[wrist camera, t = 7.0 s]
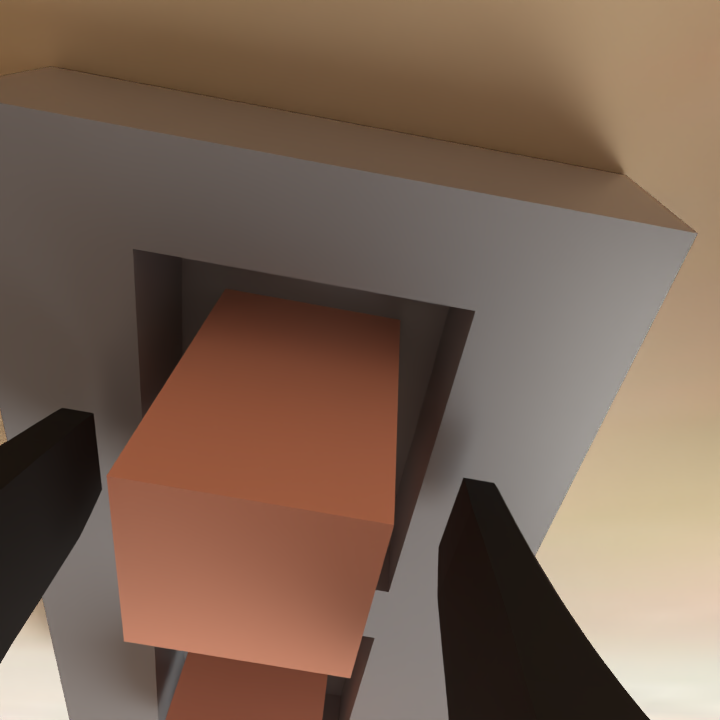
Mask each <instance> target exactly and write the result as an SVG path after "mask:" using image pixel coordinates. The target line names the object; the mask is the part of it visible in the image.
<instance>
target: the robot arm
mask: <svg viewBox="0 0 720 720" xmlns="http://www.w3.org/2000/svg"><path fill="white" fill-rule="evenodd" d="M101 491H102V483H101V474H100V465H99V456H98V447H97V438H96V429H95V420H94V413H90V412H84V411H79V410H73V409H67V408H61V409H59V410H57V411H55V412H54V413H52V414H50V415H49V416H47V417H45V418H44V419H42V420H41V421H39V422H37V423H36V424H34V425H32V426H31V427H29V428H28V429H26V430H24V431H23V432H21V433H20V434H18V435H16V436H15V437H13V438H12V439H10V440H8V441H7V442H5V443H4V444H2V445H0V663H1V661H2V660H3V658H4V656H5V655H6V653H7V651H8V650H9V648H10V646H11V644H12V643H13V641H14V640H15V638H16V637H17V635H18V634H19V632H20V630H21V629H22V627H23V626H24V624H25V623H26V621H27V620H28V618H29V616H30V615H31V613H32V612H33V610H34V609H35V607H36V605H37V604H38V602H39V601H40V599H41V598H42V596H43V595H44V593H45V591H46V590H47V588H48V587H49V585H50V584H51V582H52V581H53V579H54V577H55V576H56V574H57V573H58V571H59V570H60V568H61V566H62V565H63V563H64V562H65V560H66V558H67V557H68V555H69V554H70V552H71V551H72V549H73V547H74V546H75V544H76V542H77V541H78V539H79V538H80V536H81V534H82V532H83V529H84V527H85V525H86V523H87V521H88V519H89V517H90V515H91V513H92V511H93V509H94V506H95V504H96V502H97V500H98V498H99V495H100V493H101ZM437 599H438V611H439V622H440V633H441V644H442V654H443V665H444V675H445V686H446V696H447V707H448V718H449V720H650V719H649V718H648V717H647V716H646V715H645V713H644V712H643V711H642V710H641V709H640V707H639V706H638V705H637V704H636V702H635V701H634V700H633V699H632V697H631V696H630V695H629V694H628V693H627V691H626V690H625V689H624V688H623V686H622V685H621V684H620V682H619V681H618V680H617V678H616V677H615V676H614V674H613V673H612V672H611V671H610V669H609V668H608V667H607V665H606V664H605V663H604V661H603V660H602V659H601V657H600V656H599V654H598V653H597V652H596V650H595V649H594V648H593V646H592V645H591V643H590V642H589V640H588V639H587V638H586V636H585V635H584V633H583V632H582V630H581V629H580V627H579V626H578V624H577V623H576V621H575V620H574V618H573V617H572V615H571V614H570V612H569V611H568V609H567V608H566V606H565V605H564V603H563V602H562V600H561V599H560V597H559V595H558V594H557V592H556V591H555V589H554V587H553V586H552V584H551V582H550V581H549V579H548V577H547V576H546V574H545V572H544V571H543V569H542V567H541V566H540V564H539V562H538V561H537V559H536V557H535V556H534V554H533V552H532V550H531V549H530V547H529V545H528V543H527V542H526V540H525V538H524V536H523V534H522V533H521V531H520V529H519V527H518V525H517V523H516V522H515V520H514V518H513V516H512V514H511V512H510V510H509V508H508V507H507V505H506V503H505V501H504V499H503V497H502V495H501V493H500V491H499V489H498V488H497V486H496V485H495V483H492V482H486V481H481V480H475V479H469V478H463V480H462V483H461V486H460V488H459V491H458V494H457V497H456V500H455V502H454V505H453V508H452V511H451V513H450V516H449V519H448V522H447V525H446V527H445V530H444V533H443V536H442V538H441V541H440V544H439V547H438V588H437Z"/></svg>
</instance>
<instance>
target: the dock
mask: <svg viewBox="0 0 720 720" xmlns="http://www.w3.org/2000/svg"><path fill="white" fill-rule="evenodd" d="M697 234H698V233H697V232H695V231H694V230H693V229H692V228H690V227H689V226H688V225H687V224H686V223H684V222H683V221H682V220H681V219H679V218H678V217H677V216H676V215H674V214H673V213H672V212H671V211H670V210H668V209H667V208H666V207H665V206H663V205H662V204H661V203H660V202H659V201H657V200H656V199H655V198H654V197H652V196H651V195H650V194H649V193H648V192H646V191H645V190H644V189H643V188H641V187H640V186H639V185H638V184H637V183H635V182H634V181H633V180H632V179H630V178H629V177H628V176H627V175H622V174H617V173H612V172H607V171H601V170H596V169H591V168H585V167H580V166H575V165H569V164H564V163H559V162H554V161H548V160H543V159H538V158H532V157H527V156H522V155H517V154H511V153H506V152H501V151H495V150H490V149H485V148H480V147H474V146H469V145H464V144H458V143H453V142H448V141H443V140H437V139H432V138H427V137H421V136H416V135H411V134H405V133H400V132H395V131H390V130H384V129H379V128H374V127H368V126H363V125H358V124H353V123H347V122H342V121H337V120H331V119H326V118H321V117H316V116H310V115H305V114H300V113H294V112H289V111H284V110H279V109H273V108H268V107H263V106H257V105H252V104H247V103H242V102H236V101H231V100H226V99H220V98H215V97H210V96H204V95H199V94H194V93H189V92H183V91H178V90H173V89H167V88H162V87H157V86H152V85H146V84H141V83H136V82H130V81H125V80H120V79H115V78H109V77H104V76H99V75H93V74H88V73H83V72H78V71H72V70H67V69H62V68H56V67H46V68H40V69H35V70H30V71H25V72H19V73H14V74H9V75H3V76H0V410H1V415H2V419H3V424H4V428H5V433H6V437H7V441H8V440H10V439H12V438H13V437H15V436H16V435H18V434H20V433H21V432H23V431H24V430H26V429H28V428H29V427H31V426H32V425H34V424H36V423H37V422H39V421H41V420H42V419H44V418H45V417H47V416H49V415H50V414H52V413H54V412H55V411H57V410H59V409H61V408H67V409H73V410H79V411H84V412H90V413H94V420H95V429H96V438H97V447H98V456H99V465H100V474H101V483H102V491H101V493H100V495H99V498H98V500H97V502H96V504H95V506H94V509H93V511H92V513H91V515H90V517H89V519H88V521H87V523H86V525H85V527H84V529H83V532H82V534H81V536H80V538H79V539H78V541H77V542H76V544H75V546H74V547H73V549H72V551H71V552H70V554H69V555H68V557H67V558H66V560H65V562H64V563H63V565H62V566H61V568H60V570H59V571H58V573H57V574H56V576H55V577H54V579H53V581H52V582H51V584H50V585H49V587H48V588H47V590H46V591H45V593H44V595H43V596H42V599H43V603H44V608H45V612H46V617H47V621H48V625H49V630H50V634H51V639H52V643H53V648H54V652H55V657H56V661H57V666H58V670H59V675H60V679H61V684H62V688H63V693H64V697H65V702H66V706H67V711H68V715H69V720H449V718H448V707H447V696H446V686H445V675H444V665H443V654H442V644H441V633H440V622H439V611H438V599H437V588H438V547H439V544H440V541H441V538H442V536H443V533H444V530H445V527H446V525H447V522H448V519H449V516H450V513H451V511H452V508H453V505H454V502H455V500H456V497H457V494H458V491H459V488H460V486H461V483H462V480H463V478H469V479H475V480H481V481H486V482H492V483H495V485H496V486H497V488H498V489H499V491H500V493H501V495H502V497H503V499H504V501H505V503H506V505H507V507H508V508H509V510H510V512H511V514H512V516H513V518H514V520H515V522H516V523H517V525H518V527H519V529H520V531H521V533H522V534H523V536H524V538H525V540H526V542H527V543H528V545H529V547H530V549H531V550H532V552H533V554H534V556H535V555H536V553H537V551H538V549H539V547H540V545H541V543H542V541H543V539H544V537H545V535H546V533H547V531H548V529H549V527H550V525H551V523H552V521H553V519H554V517H555V515H556V513H557V511H558V509H559V507H560V506H561V504H562V502H563V500H564V498H565V496H566V494H567V492H568V490H569V488H570V486H571V484H572V482H573V480H574V478H575V476H576V474H577V472H578V470H579V468H580V466H581V464H582V462H583V460H584V458H585V456H586V454H587V452H588V450H589V448H590V446H591V444H592V442H593V440H594V438H595V436H596V434H597V432H598V430H599V428H600V426H601V424H602V422H603V420H604V418H605V416H606V414H607V412H608V410H609V408H610V406H611V404H612V402H613V400H614V398H615V396H616V394H617V392H618V390H619V388H620V386H621V385H622V383H623V381H624V379H625V377H626V375H627V373H628V371H629V369H630V367H631V365H632V363H633V361H634V359H635V357H636V355H637V353H638V351H639V349H640V347H641V345H642V343H643V341H644V339H645V337H646V335H647V333H648V331H649V329H650V327H651V325H652V323H653V321H654V319H655V317H656V315H657V313H658V311H659V309H660V307H661V305H662V303H663V301H664V299H665V297H666V295H667V293H668V291H669V289H670V287H671V285H672V283H673V281H674V279H675V277H676V275H677V273H678V271H679V269H680V267H681V265H682V264H683V262H684V260H685V258H686V256H687V254H688V252H689V250H690V248H691V246H692V244H693V242H694V240H695V238H696V236H697ZM225 289H231V290H236V291H242V292H248V293H253V294H259V295H264V296H270V297H275V298H281V299H287V300H292V301H298V302H303V303H309V304H314V305H320V306H325V307H331V308H337V309H342V310H348V311H353V312H359V313H364V314H370V315H376V316H381V317H387V318H392V319H398V320H400V345H399V379H398V412H397V445H396V479H395V512H394V527H393V531H392V534H391V538H390V541H389V545H388V548H387V552H386V555H385V559H384V562H383V566H382V569H381V573H380V576H379V580H378V583H377V587H376V590H375V594H374V597H373V601H372V604H371V608H370V611H369V615H368V618H367V622H366V625H365V629H364V632H363V636H362V639H361V643H360V646H359V650H358V653H357V657H356V660H355V664H354V667H353V671H352V674H351V678H345V677H339V676H333V675H327V674H321V673H314V672H308V671H302V670H296V669H290V668H284V667H278V666H272V665H266V664H259V663H253V662H247V661H241V660H235V659H229V658H223V657H217V656H211V655H204V654H198V653H192V652H186V651H180V650H174V649H168V648H162V647H156V646H149V645H143V644H137V643H131V642H125V641H124V636H123V626H122V617H121V608H120V598H119V589H118V579H117V570H116V561H115V551H114V542H113V532H112V523H111V513H110V504H109V495H108V485H107V474H108V473H109V471H110V470H111V468H112V466H113V465H114V463H115V462H116V460H117V459H118V457H119V455H120V454H121V452H122V451H123V449H124V448H125V446H126V444H127V443H128V441H129V440H130V438H131V437H132V435H133V433H134V432H135V430H136V429H137V427H138V425H139V424H140V422H141V421H142V419H143V418H144V416H145V414H146V413H147V411H148V410H149V408H150V407H151V405H152V403H153V402H154V400H155V399H156V397H157V396H158V394H159V392H160V391H161V389H162V388H163V386H164V385H165V383H166V381H167V380H168V378H169V377H170V375H171V374H172V372H173V370H174V369H175V367H176V366H177V364H178V363H179V361H180V359H181V358H182V356H183V355H184V353H185V352H186V350H187V348H188V347H189V345H190V344H191V342H192V341H193V339H194V337H195V336H196V334H197V333H198V331H199V330H200V328H201V326H202V325H203V323H204V322H205V320H206V318H207V317H208V315H209V314H210V312H211V311H212V309H213V307H214V306H215V304H216V303H217V301H218V300H219V298H220V296H221V295H222V293H223V292H224V290H225Z"/></svg>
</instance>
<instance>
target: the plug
mask: <svg viewBox="0 0 720 720" xmlns="http://www.w3.org/2000/svg"><path fill="white" fill-rule="evenodd" d="M399 345H400V320H398V319H392V318H387V317H381V316H376V315H370V314H364V313H359V312H353V311H348V310H342V309H337V308H331V307H325V306H320V305H314V304H309V303H303V302H298V301H292V300H287V299H281V298H275V297H270V296H264V295H259V294H253V293H248V292H242V291H236V290H231V289H225V290H224V292H223V293H222V295H221V296H220V298H219V300H218V301H217V303H216V304H215V306H214V307H213V309H212V311H211V312H210V314H209V315H208V317H207V318H206V320H205V322H204V323H203V325H202V326H201V328H200V330H199V331H198V333H197V334H196V336H195V337H194V339H193V341H192V342H191V344H190V345H189V347H188V348H187V350H186V352H185V353H184V355H183V356H182V358H181V359H180V361H179V363H178V364H177V366H176V367H175V369H174V370H173V372H172V374H171V375H170V377H169V378H168V380H167V381H166V383H165V385H164V386H163V388H162V389H161V391H160V392H159V394H158V396H157V397H156V399H155V400H154V402H153V403H152V405H151V407H150V408H149V410H148V411H147V413H146V414H145V416H144V418H143V419H142V421H141V422H140V424H139V425H138V427H137V429H136V430H135V432H134V433H133V435H132V437H131V438H130V440H129V441H128V443H127V444H126V446H125V448H124V449H123V451H122V452H121V454H120V455H119V457H118V459H117V460H116V462H115V463H114V465H113V466H112V468H111V470H110V471H109V473H108V474H107V485H108V495H109V504H110V513H111V523H112V532H113V542H114V551H115V561H116V570H117V579H118V589H119V598H120V608H121V617H122V626H123V636H124V641H125V642H131V643H137V644H143V645H149V646H156V647H162V648H168V649H174V650H180V651H186V652H192V653H198V654H204V655H211V656H217V657H223V658H229V659H235V660H241V661H247V662H253V663H259V664H266V665H272V666H278V667H284V668H290V669H296V670H302V671H308V672H314V673H321V674H327V675H333V676H339V677H345V678H351V674H352V671H353V667H354V664H355V660H356V657H357V653H358V650H359V646H360V643H361V639H362V636H363V632H364V629H365V625H366V622H367V618H368V615H369V611H370V608H371V604H372V601H373V597H374V594H375V590H376V587H377V583H378V580H379V576H380V573H381V569H382V566H383V562H384V559H385V555H386V552H387V548H388V545H389V541H390V538H391V534H392V531H393V527H394V512H395V479H396V445H397V412H398V379H399Z"/></svg>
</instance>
